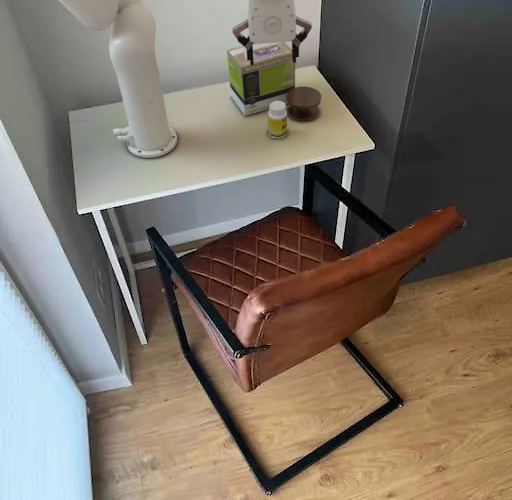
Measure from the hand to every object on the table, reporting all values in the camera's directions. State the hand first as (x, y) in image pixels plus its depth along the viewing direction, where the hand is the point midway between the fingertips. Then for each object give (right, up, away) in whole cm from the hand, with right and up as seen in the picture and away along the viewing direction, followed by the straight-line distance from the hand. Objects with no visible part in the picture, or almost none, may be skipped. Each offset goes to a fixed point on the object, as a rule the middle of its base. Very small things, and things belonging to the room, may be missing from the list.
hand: (273, 61), depth 132 cm
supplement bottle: (+2, -13, +16) cm, 21 cm away
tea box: (-2, -2, +25) cm, 25 cm away
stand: (+9, -7, +21) cm, 24 cm away
